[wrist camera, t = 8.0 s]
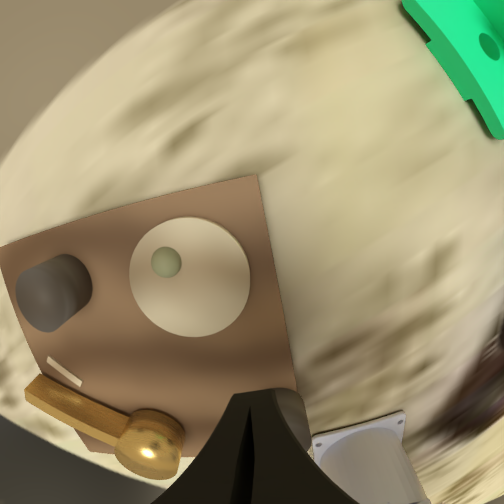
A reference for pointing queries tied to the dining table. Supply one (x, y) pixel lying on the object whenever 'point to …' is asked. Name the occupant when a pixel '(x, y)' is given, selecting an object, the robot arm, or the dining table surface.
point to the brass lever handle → (115, 428)
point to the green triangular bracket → (468, 50)
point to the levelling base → (160, 308)
